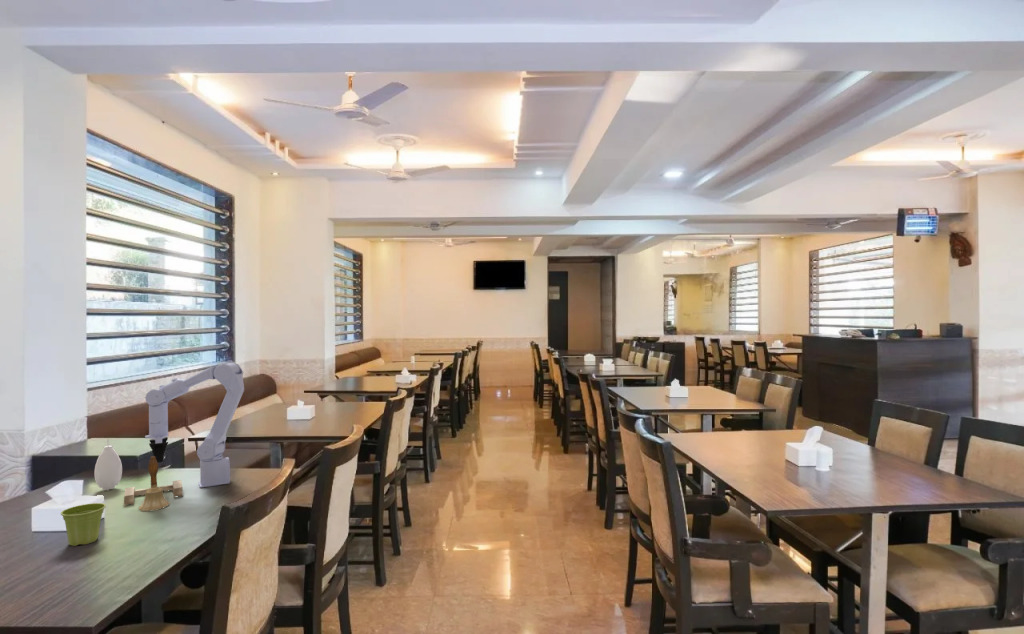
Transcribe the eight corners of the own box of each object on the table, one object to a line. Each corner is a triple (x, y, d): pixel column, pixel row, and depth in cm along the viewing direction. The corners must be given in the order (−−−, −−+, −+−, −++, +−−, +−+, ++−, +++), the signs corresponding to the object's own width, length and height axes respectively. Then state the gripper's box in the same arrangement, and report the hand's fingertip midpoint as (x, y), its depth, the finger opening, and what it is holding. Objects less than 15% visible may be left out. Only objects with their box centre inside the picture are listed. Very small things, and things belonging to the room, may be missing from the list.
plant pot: (114, 536, 147) (114, 504, 147) (76, 550, 138) (76, 516, 139) (90, 533, 150) (90, 501, 151) (52, 546, 141) (51, 513, 142)
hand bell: (159, 511, 168) (158, 459, 169) (132, 511, 168) (131, 459, 169) (175, 502, 177) (175, 453, 177) (149, 503, 177) (149, 453, 177)
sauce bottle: (90, 491, 192) (90, 439, 192) (116, 485, 198) (115, 435, 199) (100, 494, 188) (100, 441, 188) (126, 488, 194) (125, 437, 195)
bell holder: (181, 488, 193) (181, 479, 193) (182, 496, 183) (182, 487, 183) (125, 497, 184) (125, 488, 184) (124, 505, 174) (124, 496, 174)
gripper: (145, 421, 200) (145, 458, 200) (144, 426, 188) (145, 466, 187) (168, 418, 204) (168, 455, 203) (169, 424, 192) (169, 462, 191)
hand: (158, 460), depth 196 cm, fingers open, 7 cm apart
